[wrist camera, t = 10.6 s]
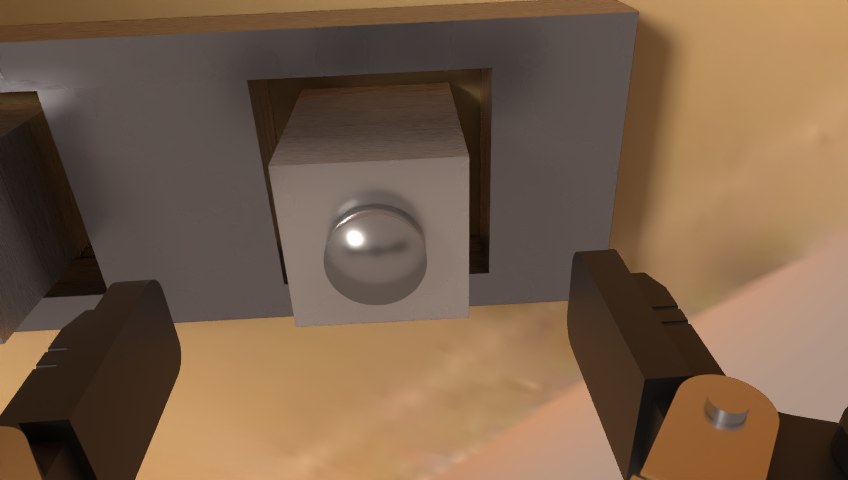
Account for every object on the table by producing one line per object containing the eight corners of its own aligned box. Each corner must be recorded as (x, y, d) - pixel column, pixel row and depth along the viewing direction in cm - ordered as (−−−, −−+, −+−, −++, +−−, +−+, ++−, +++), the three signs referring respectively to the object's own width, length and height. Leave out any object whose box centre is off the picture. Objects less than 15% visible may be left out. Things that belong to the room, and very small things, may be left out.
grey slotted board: (-303, 41, 17) (-397, 62, 15) (610, -3, 18) (638, 11, 16) (-145, 300, 22) (-201, 344, 20) (582, 260, 22) (601, 298, 20)
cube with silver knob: (302, 89, 19) (262, 179, 13) (448, 82, 19) (472, 169, 13) (319, 218, 21) (291, 344, 15) (450, 212, 21) (471, 334, 16)
